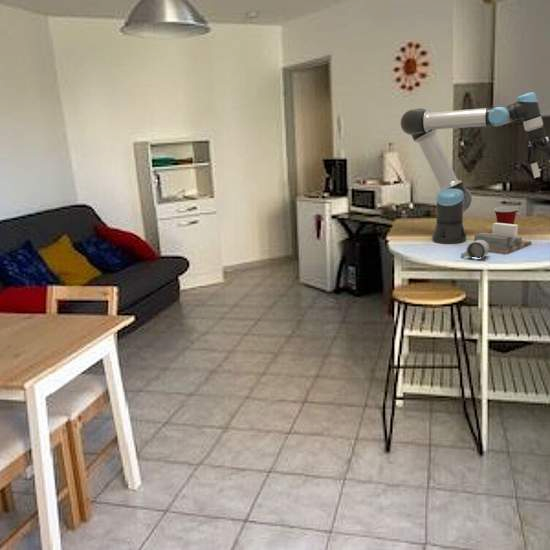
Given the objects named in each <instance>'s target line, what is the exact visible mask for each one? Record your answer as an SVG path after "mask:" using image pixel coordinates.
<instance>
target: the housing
mask: <svg viewBox="0 0 550 550" xmlns="http://www.w3.org/2000/svg"><path fill="white" fill-rule="evenodd" d="M476 240H484V241H486V242H487V243H488V245H489V252H488V253H492V252H493V254H499V253H502V254H501V255H506V254H507V255H509V254H512V253H514V252H517V251H519V250H521V249H524V248H526V247H528V246H532V240H526V239H522V236H518V237H517V238H514V239H513V236H507V235H498V234H492V233H487V232H479V233H476V234H474V236H473V242H474V241H476ZM511 252H512V253H511ZM508 253H509V254H508Z"/></svg>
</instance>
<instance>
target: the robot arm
mask: <svg viewBox="0 0 550 550" xmlns="http://www.w3.org/2000/svg"><path fill="white" fill-rule="evenodd" d="M517 120H519V121H520V120H522V123H523V124H522V125H523V128H524V131H526V132H525V135H526V139H527V142H525V143H526V144H525V146H526V160H525V161H526V163H527V164H529V165H530V167H531V171H532V175H533V178H534V179H536V178H539V177H541V173H540V169H539V168H540V167H539V165H538V162H537V157H538V152H539V151H542V152H543V153H544V154H545V156H546V157H548V158H549V159H548V160H549V162H550V136H546V134H547V133H546V129H545V127H544V121H543V119H542V113H541V110H540V105H539V101H538V99H537V95H536V93H535V92H532V91H531V92H527V93H525V94H523V95H519V96H518V97H516V102H514V103H510V104H508V105H504V106H496V107H485V108H484V107H483V108H470V109H460V110H458V109H457V110H447V111H437V112H435V111H434V112H431V111H430V110H428V109H426V108H414V109H409V110H407V111H406V112H405V113H404V114H403V115H402V116H401V118H400V128H401V130H402V131H403V132H404V133H405V134H407V135H409V136H410V135H411V137H412V139H413V141H414V143H417V144H419V146H420V149H421V152H423V155H424V157H425V159H426V160H427V163H428V165H429V167H430V169H431V171H432V173H433V175H434V177H435V180H436V183H437V184H438V186H439V188H440V189H439V191H438V192H437V194H436V224H435V228H434V231H433V233H432V239H431V240H432V242H434V243H437V244H446V245H447V244H454V245H455V244H459V243H460V244H461V243H465V242H466V241H467V234H466V232H465V227H464V224H463V220H464V217H463V215H464V212H465V211H467V210H468V209H469V208H470V206H471V204H472V201H473V198H472V194H471V192H470V190H469V189H467V188H466V187H465V185H464V183H463V181H462V180H460V179H458V178H457V176H456V173H455V171H454V170H453V167H452V165H451V163H450V162H449V159H448V157H447V156H446V153H445V150H444V148H443V147H442V145H441V143H440V140H439V139H438V137H437V132H438V130H444V129H445V130H446V129H447V130H449V129H461V128H473V127H474V128H477V127H490V126H493V127H499V126H500V127H501V126H503V125H507V124H509V123H513V122H515V121H517Z"/></svg>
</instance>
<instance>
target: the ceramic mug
mask: <svg viewBox="0 0 550 550" xmlns="http://www.w3.org/2000/svg"><path fill="white" fill-rule="evenodd" d="M488 253H490V252H489V245H488V243H487V242H486V241H484V240H476V241H474V240H473V241H472V242H471V243H469V244H468V245H467V247H466V250H465V251H464V252H461V253H460V256H461V257H462V258H466V257H468V259H470V258H472V257H477V258H480V257H481V258H480V260H482V259H483V258H485V257H486V256H487V255H488Z"/></svg>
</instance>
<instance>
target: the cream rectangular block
mask: <svg viewBox="0 0 550 550" xmlns="http://www.w3.org/2000/svg"><path fill="white" fill-rule="evenodd" d="M491 231H492V233H491V234H498V235H507V236H513V239H514V238H517V237H519V232H518V231H519V224H515V223H514V224H505V223H497V222H494V223H492V230H491Z"/></svg>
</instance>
